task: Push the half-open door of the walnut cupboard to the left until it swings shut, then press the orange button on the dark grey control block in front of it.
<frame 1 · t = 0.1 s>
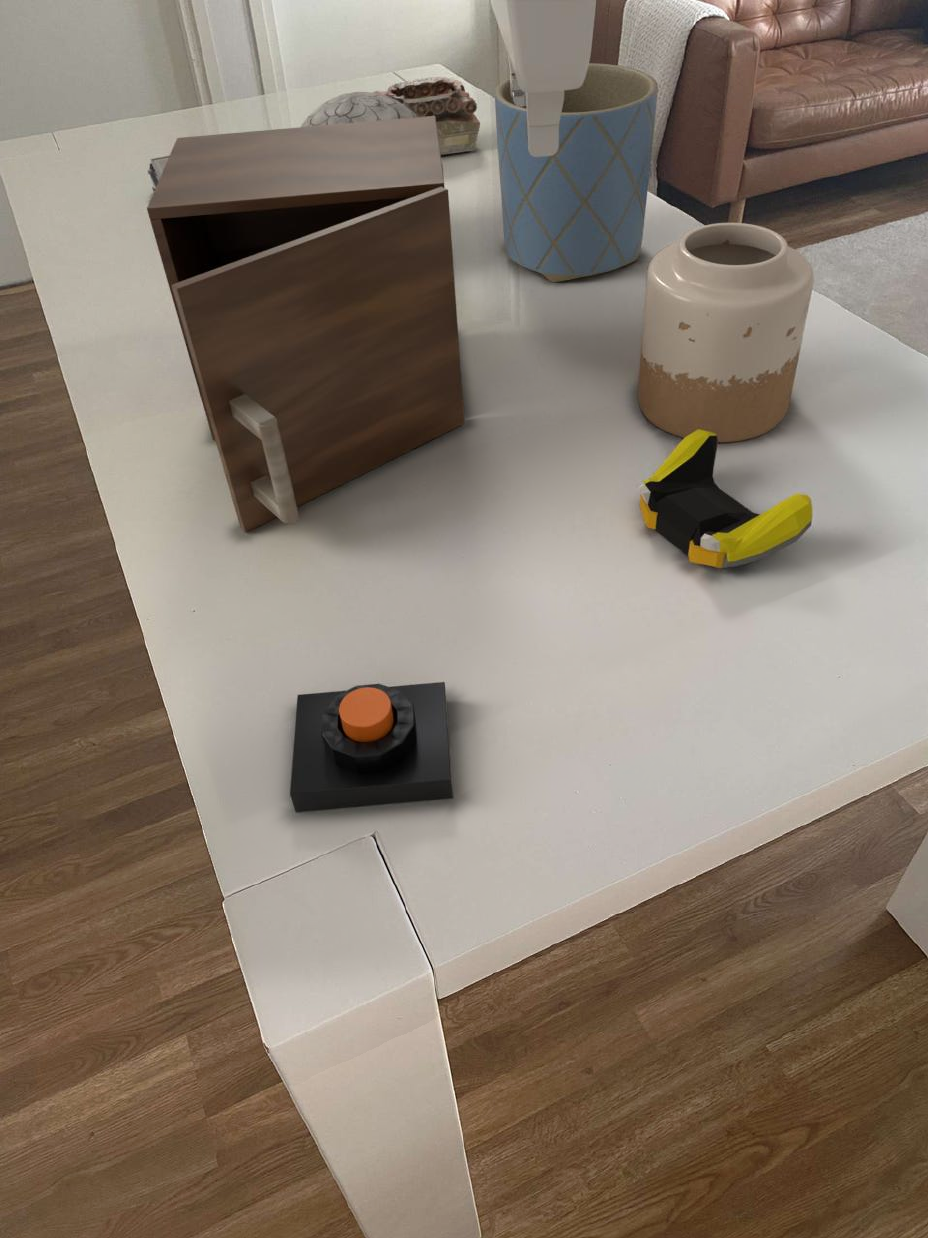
hand: (533, 126, 62), 35 cm above the table, tool pointing down, fingers open, 8 cm apart
tank model: (419, 158, 157), on the table
cupboard: (339, 384, 108), on the table
start button: (366, 714, 68), point 4 cm above the table, slide at 0.1 cm
planter: (572, 254, 128), on the table
vase: (711, 403, 101), on the table
control block: (374, 754, 71), on the table
gaming controller: (710, 529, 87), on the table
cupboard door: (358, 376, 85), point 12 cm above the table, hinge at 35.0°
radio: (231, 205, 147), on the table
decorative sphere: (375, 258, 131), on the table
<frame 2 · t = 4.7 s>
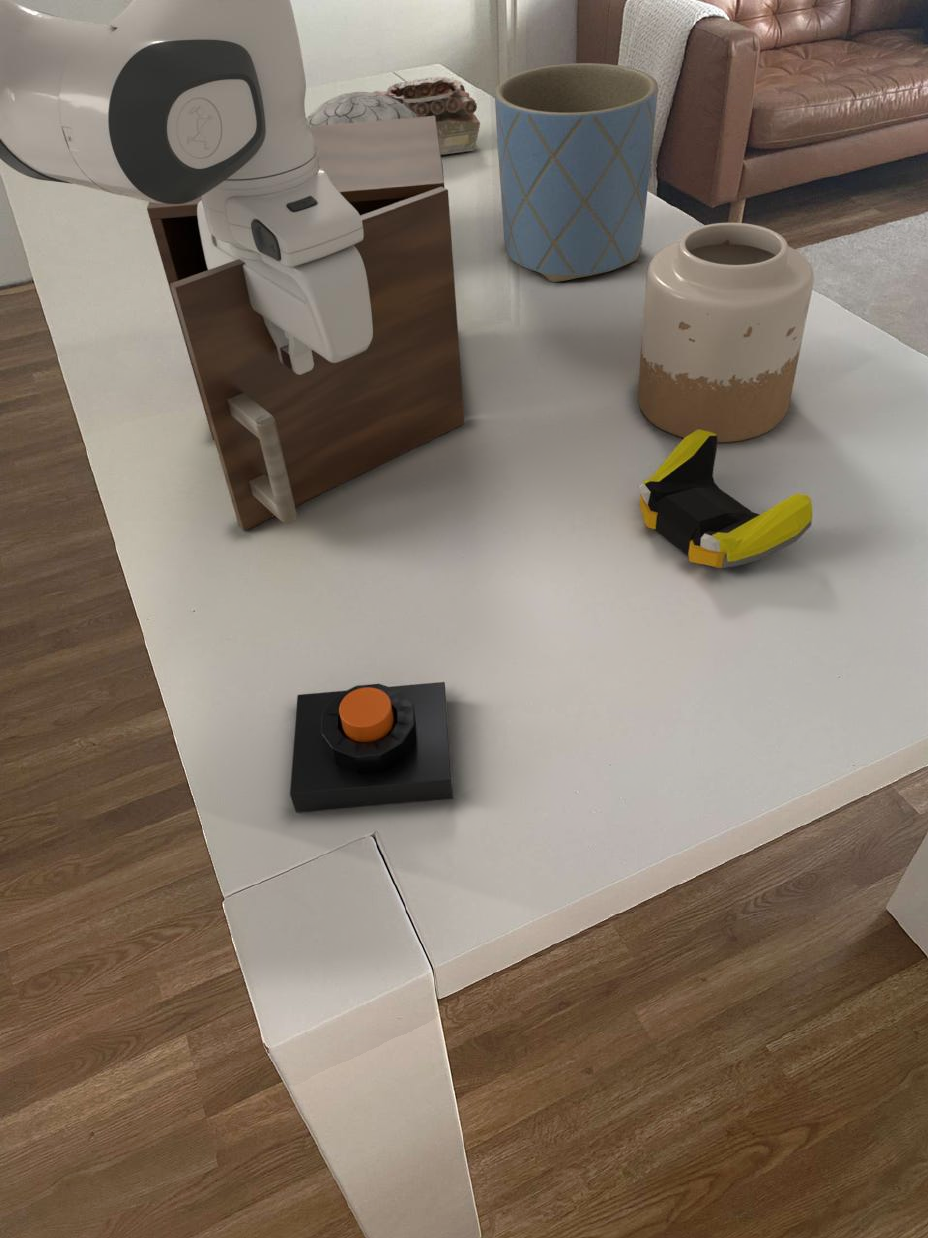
hand: (297, 366, 81), 15 cm above the table, tool pointing down, fingers closed
cupboard door: (357, 376, 86), point 12 cm above the table, hinge at 34.4°, touching gripper
everything else where it was.
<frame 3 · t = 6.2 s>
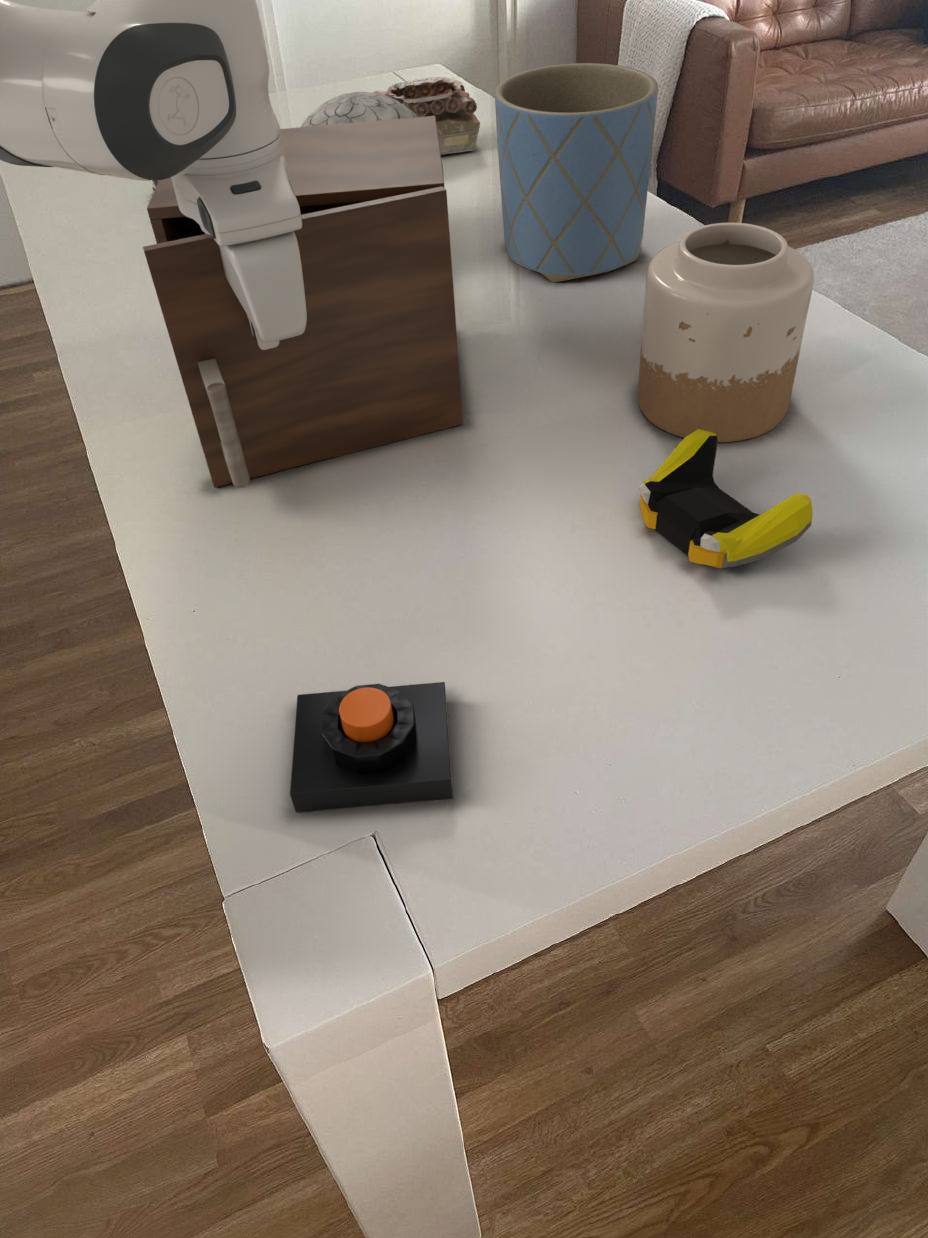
hand: (266, 342, 85), 15 cm above the table, tool pointing down, fingers closed
cupboard door: (329, 360, 88), point 12 cm above the table, hinge at 16.5°, touching gripper
everything else where it was.
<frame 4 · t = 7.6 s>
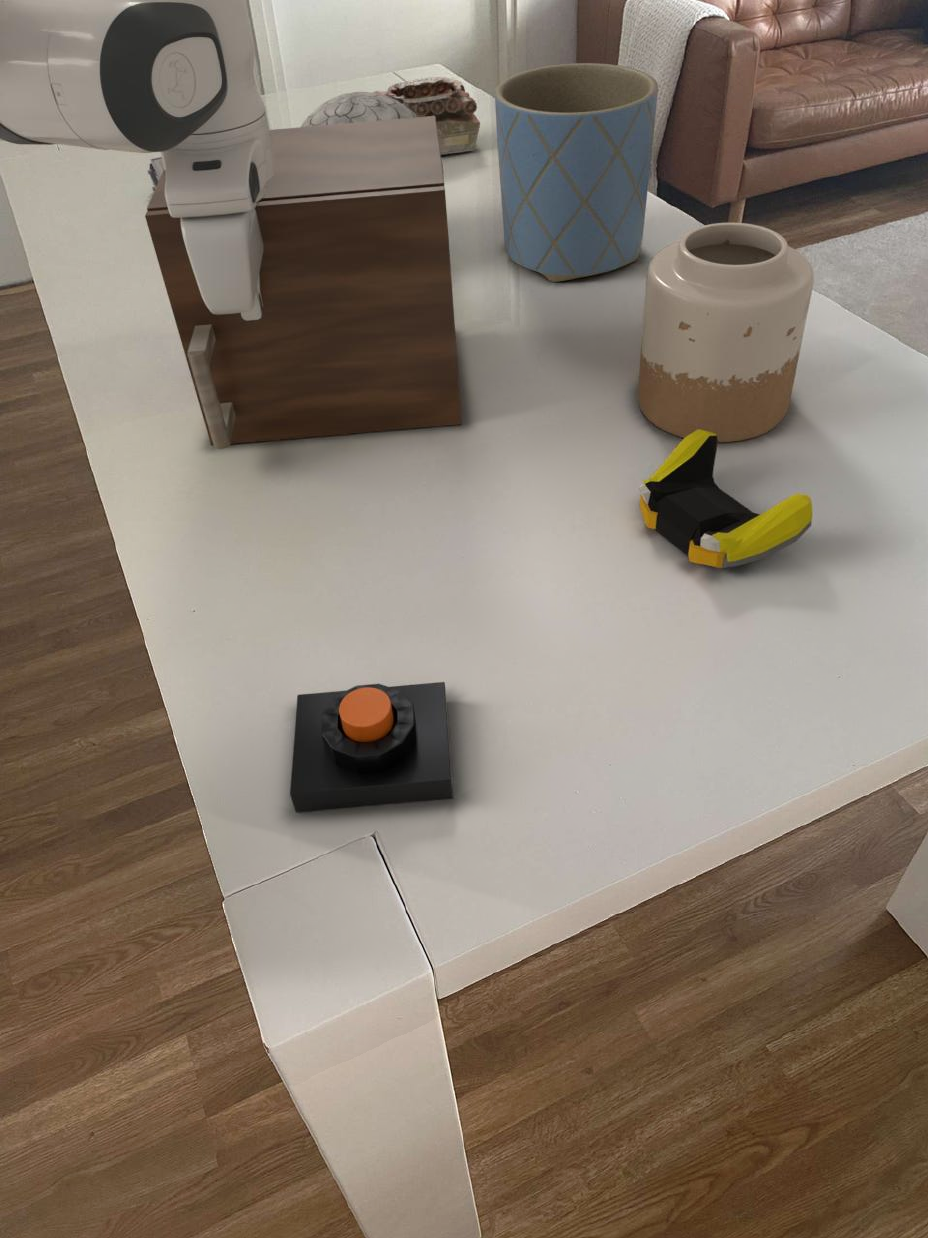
hand: (253, 314, 89), 15 cm above the table, tool pointing down, fingers closed
cupboard door: (316, 341, 90), point 12 cm above the table, hinge at -0.1°, touching gripper
everything else where it was.
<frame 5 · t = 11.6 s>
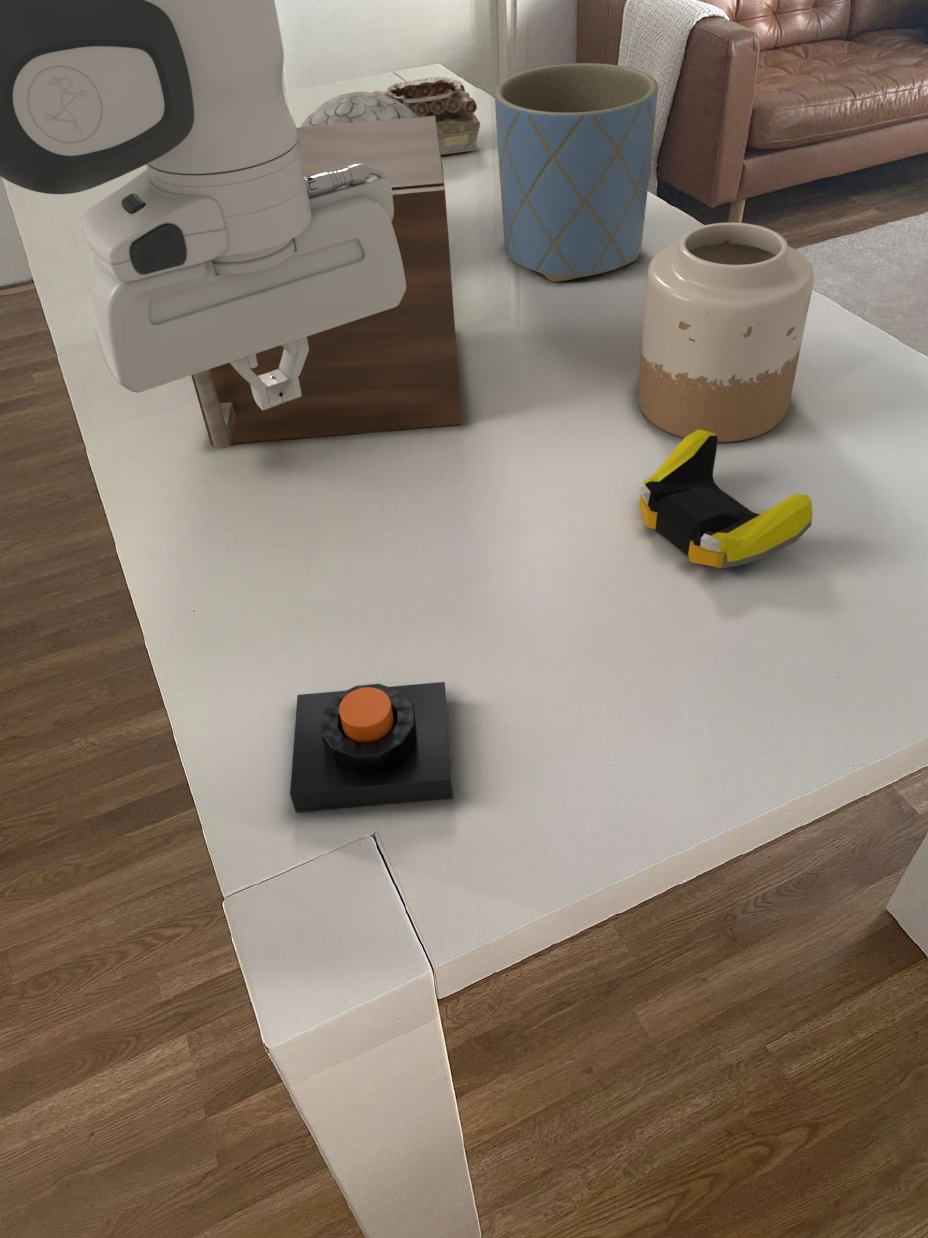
hand: (278, 400, 67), 20 cm above the table, tool pointing down, fingers closed
cupboard door: (316, 341, 90), point 12 cm above the table, hinge at -0.2°
everything else where it was.
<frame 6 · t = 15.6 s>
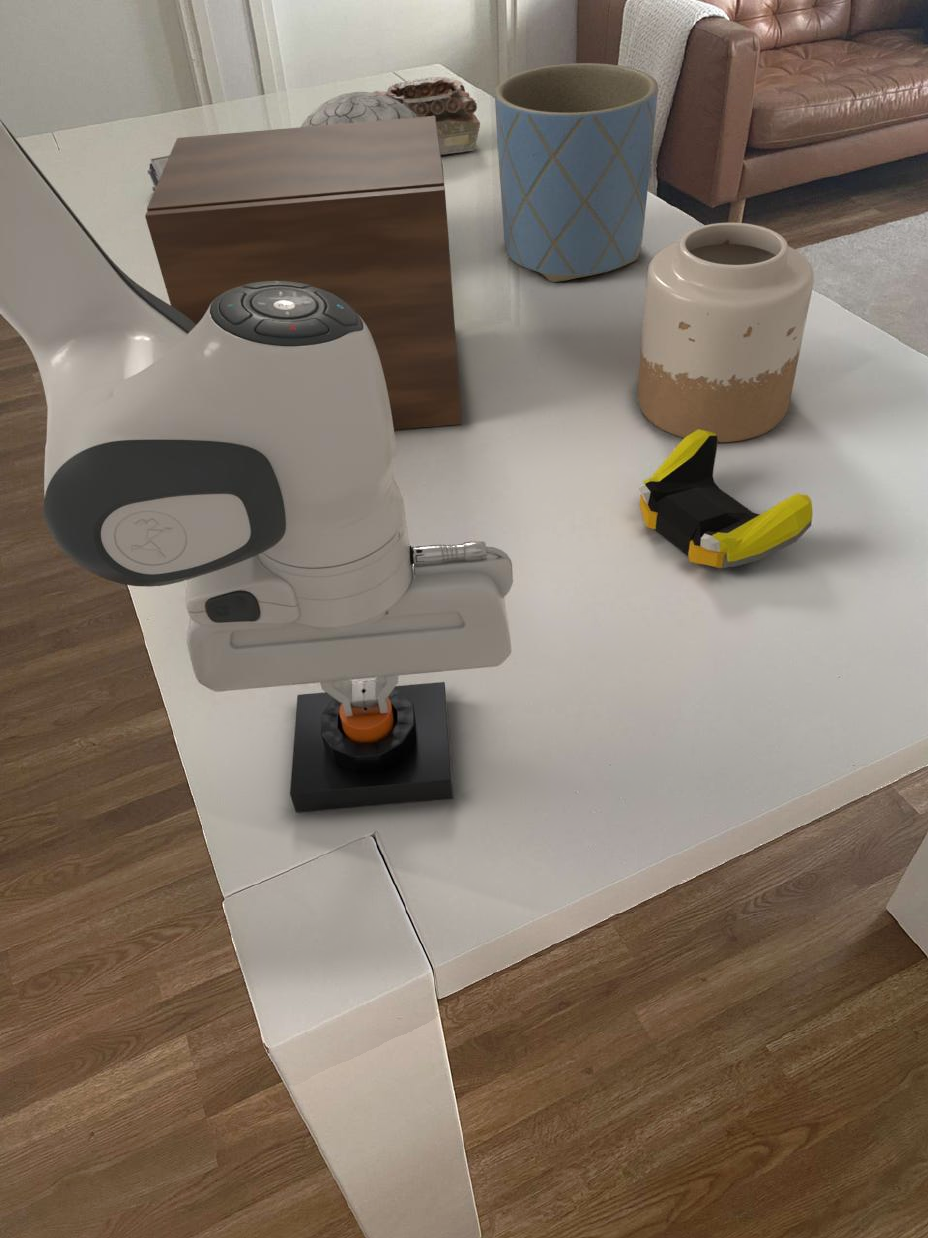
hand: (367, 707, 67), 5 cm above the table, tool pointing down, fingers closed, pressing on start button
start button: (366, 716, 68), point 4 cm above the table, slide at -0.1 cm, touching gripper
everything else where it was.
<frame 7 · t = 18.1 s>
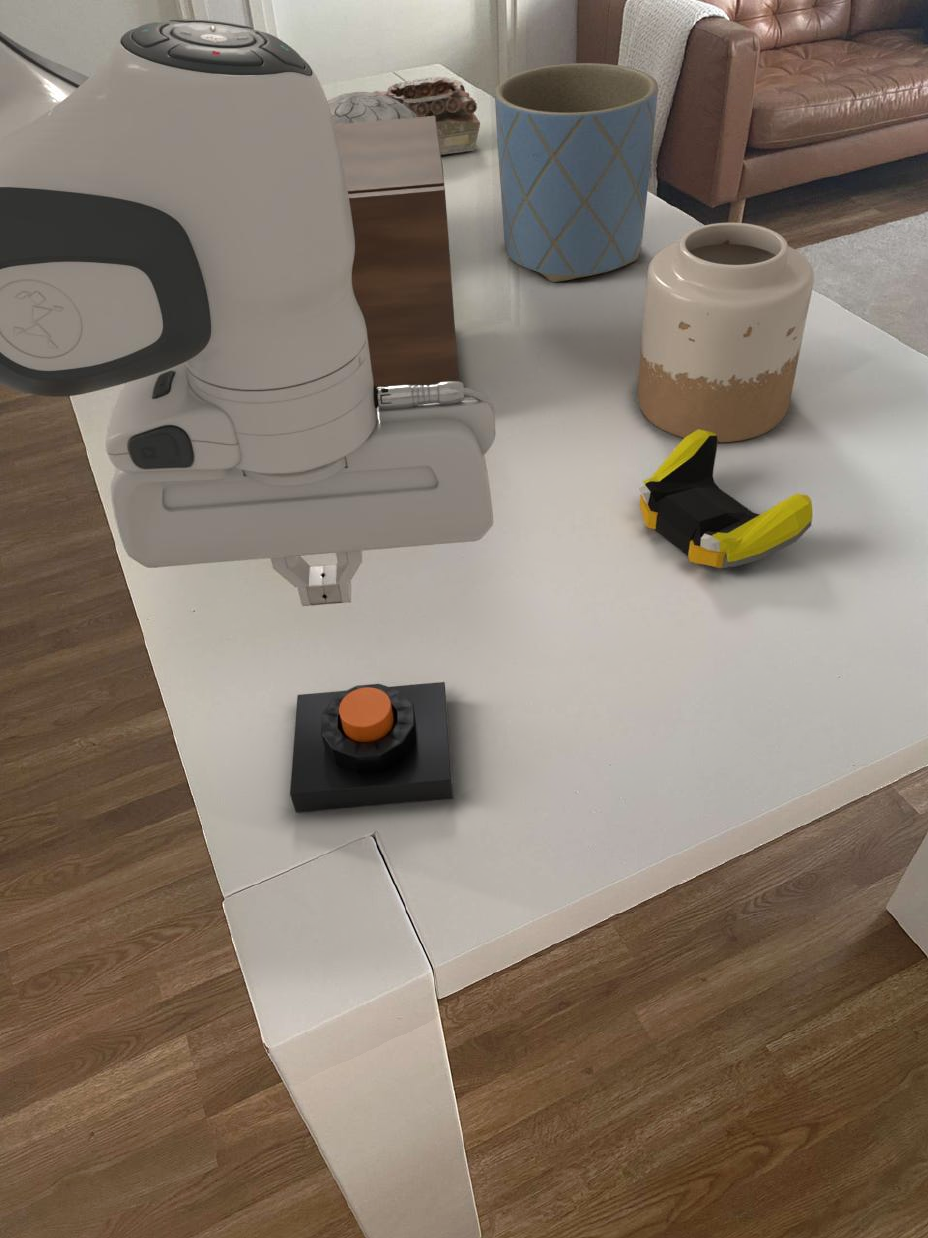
hand: (327, 597, 58), 17 cm above the table, tool pointing down, fingers closed
start button: (366, 714, 68), point 4 cm above the table, slide at 0.1 cm
everything else where it was.
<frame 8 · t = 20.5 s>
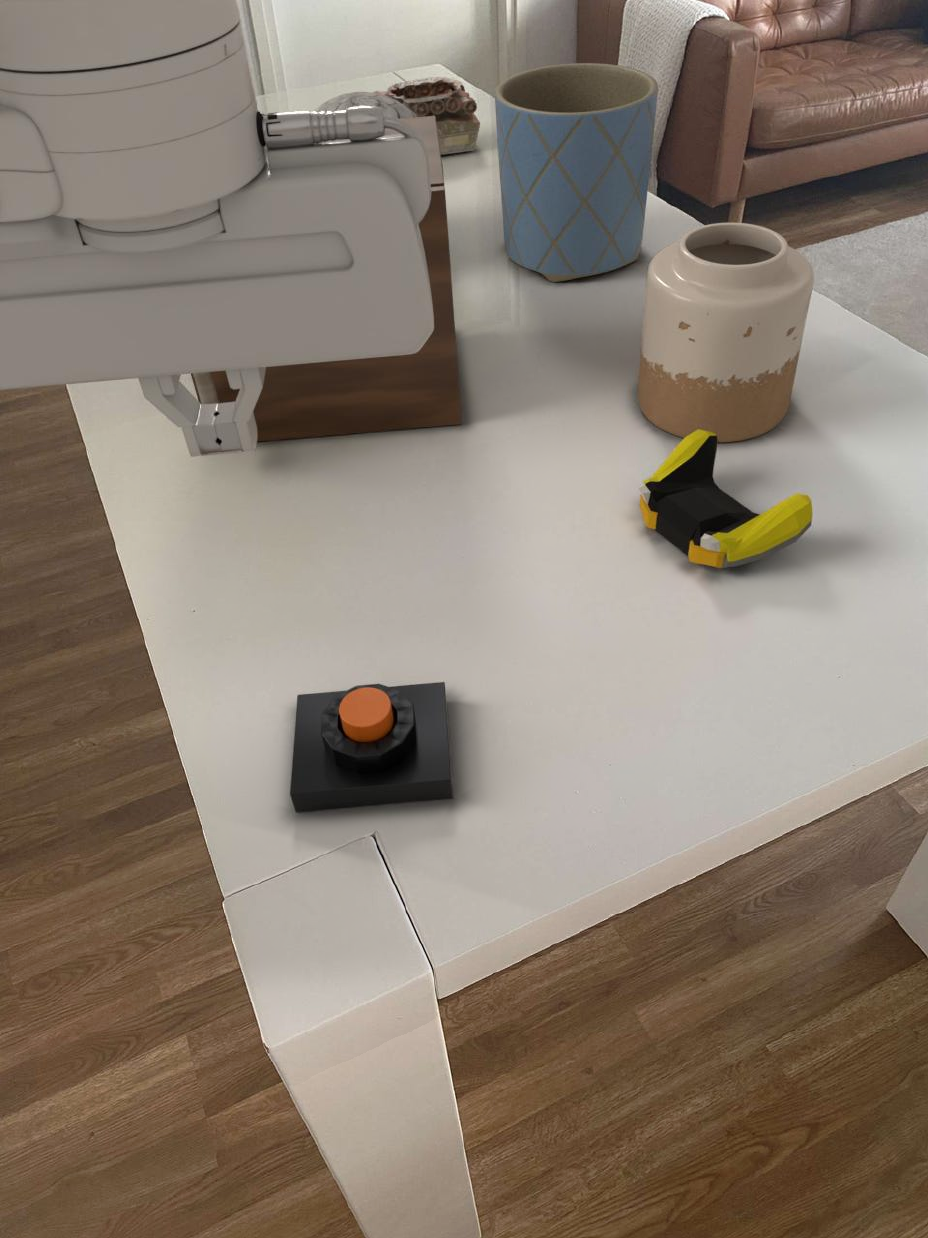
hand: (225, 446, 45), 31 cm above the table, tool pointing down, fingers closed
nothing on the table moved.
at the end: cupboard door at +0° (first picture: +35°); start button pushed in 1.1 cm at the most during the clip, back to where it started at the end; start button slide at 0.1 cm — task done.
